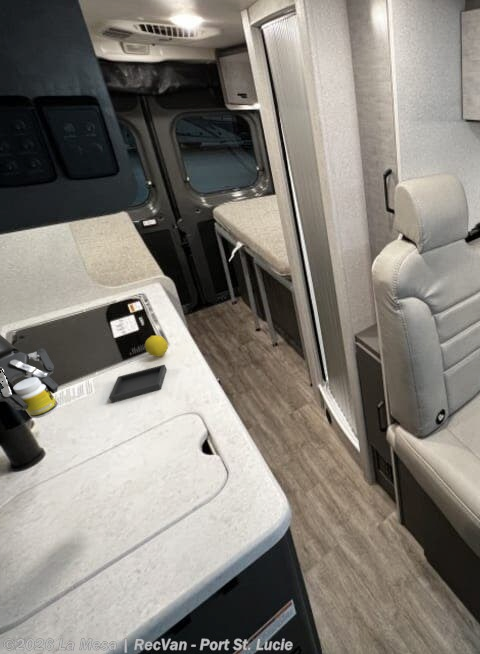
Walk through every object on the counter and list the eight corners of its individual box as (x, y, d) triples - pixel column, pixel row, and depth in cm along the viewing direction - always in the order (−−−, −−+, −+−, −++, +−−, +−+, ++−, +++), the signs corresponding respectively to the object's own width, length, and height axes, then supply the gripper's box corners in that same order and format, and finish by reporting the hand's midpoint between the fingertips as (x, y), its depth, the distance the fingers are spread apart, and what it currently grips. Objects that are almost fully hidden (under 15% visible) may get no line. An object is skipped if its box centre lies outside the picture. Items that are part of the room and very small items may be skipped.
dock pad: (111, 403, 107) (108, 398, 106) (120, 381, 115) (118, 376, 114) (161, 389, 112) (158, 384, 111) (166, 369, 119) (164, 364, 118)
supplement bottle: (63, 406, 90) (44, 379, 86) (36, 421, 86) (16, 393, 82) (52, 400, 92) (34, 373, 88) (26, 414, 88) (6, 387, 84)
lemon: (146, 359, 124) (136, 339, 120) (163, 349, 128) (154, 329, 125) (159, 363, 122) (149, 342, 118) (175, 352, 127) (166, 332, 123)
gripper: (-71, 360, 76) (-1, 418, 78) (21, 321, 88) (80, 372, 90) (-68, 374, 80) (-2, 429, 82) (19, 335, 92) (76, 384, 94)
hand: (41, 399), depth 86 cm, fingers closed on supplement bottle, 4 cm apart
